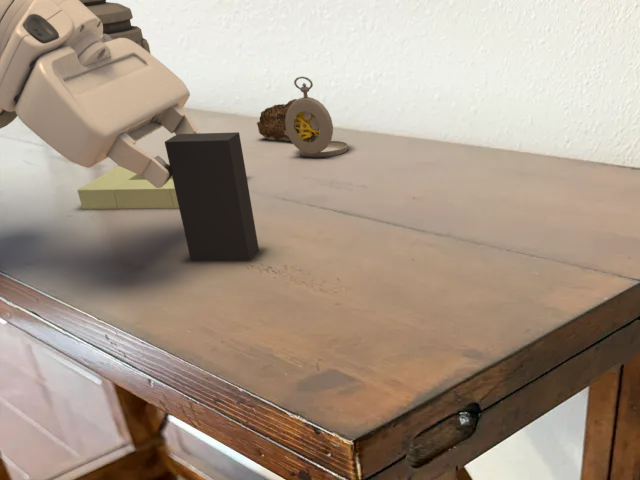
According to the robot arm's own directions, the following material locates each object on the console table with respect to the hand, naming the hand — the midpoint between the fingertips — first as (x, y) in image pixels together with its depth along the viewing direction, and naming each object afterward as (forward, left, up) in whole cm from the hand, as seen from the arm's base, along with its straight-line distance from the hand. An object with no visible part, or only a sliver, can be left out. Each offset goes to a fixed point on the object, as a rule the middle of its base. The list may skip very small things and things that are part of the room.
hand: (187, 166), depth 75 cm
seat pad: (-5, +25, -9) cm, 27 cm away
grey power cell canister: (-18, +84, -9) cm, 87 cm away
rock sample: (+12, +49, -9) cm, 51 cm away
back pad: (+2, -1, -9) cm, 9 cm away
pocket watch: (+15, +37, -9) cm, 41 cm away
